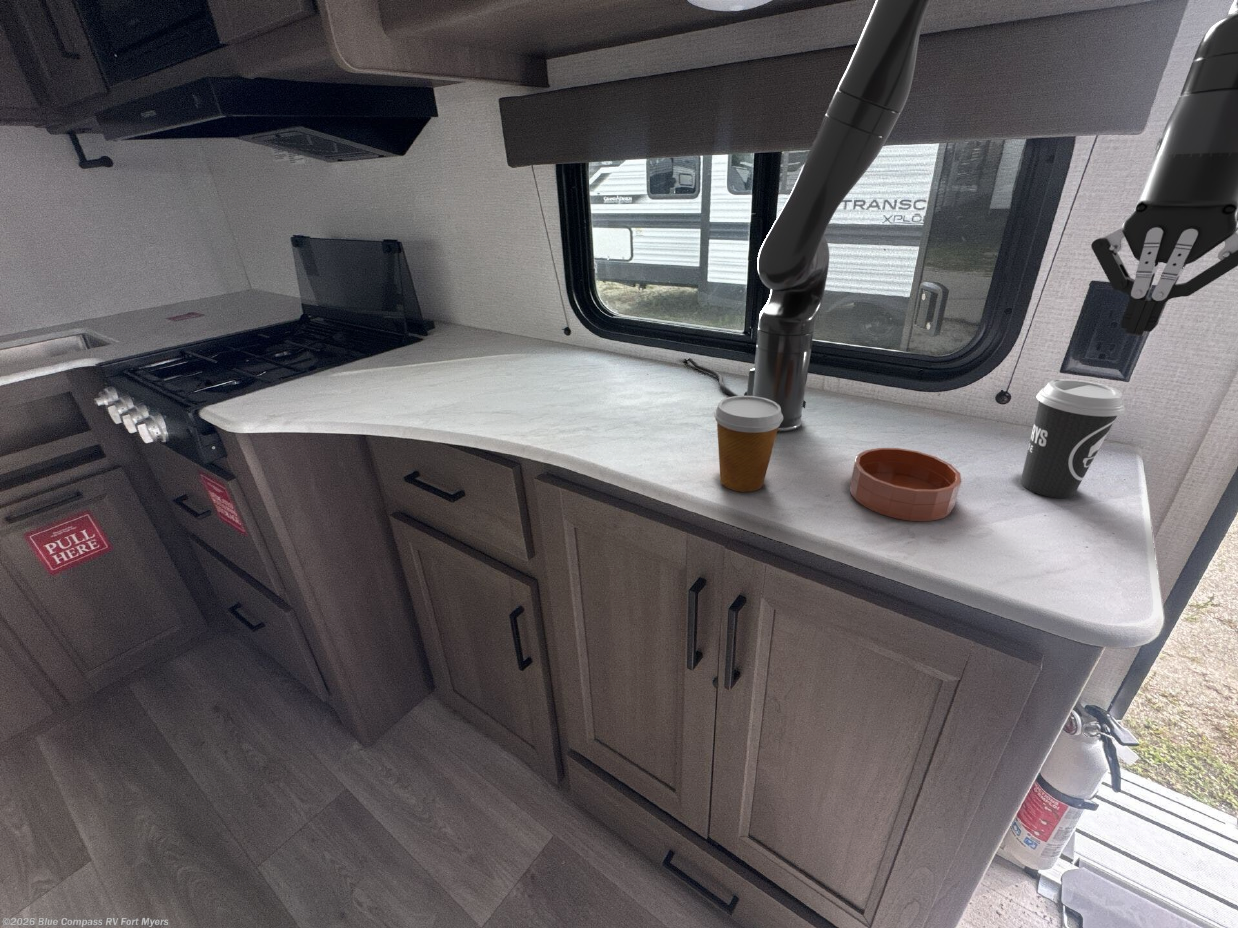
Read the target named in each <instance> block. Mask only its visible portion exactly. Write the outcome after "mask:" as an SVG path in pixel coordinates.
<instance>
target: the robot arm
mask: <svg viewBox="0 0 1238 928" xmlns="http://www.w3.org/2000/svg"><path fill="white" fill-rule="evenodd" d="M930 2H931V0H875V2H874V5H873V8H872V10H871V11H870V14H869V17H868V19H867V21H866V23H865V26H864V28H863V30H862V33H861V35H860V38H859V40H858V42H857V45H856V47H855V50H854V51H853V53H852V56H851V58H850V61H849V63H848V65H847V67H846V70H845V71H844V73H843V76H842V77H841V79H840V81H839V84H838V86H837V88H836V90H835V92H834V94H833V96H832V99H831V101H830V103H829V106H828V107H827V110H826V112H825V114H824V116H823V119H822V121H821V124H820V126H819V129H818V131H817V134H816V135H815V138H814V139H813V142H812V145H811V146H810V149H809V152H808V153H807V156H806V157H805V161H804V163H803V165H802V167H801V170H800V172H799V175H798V177H797V180H796V182H795V184H794V187H793V188H792V191H791V193H790V195H789V197H788V199H787V200H786V202H785V204H784V206H783V207H782V210H781V211H780V213H779V215H778V217H777V218H776V220H775V221H774V223H773V225H772V227H771V229H770V230H769V232H768V234H767V235H766V238H765V239H764V241H763V243H762V245H761V247H760V249H759V252H758V255H757V256H758V257H757V273H758V276H759V279H760V280H761V282H762V284H763V285H764V286H765V287H767V288H768V289H769V290H770V294H769V298H768V300H767V302H766V304H765V305H764V306H763V308H762V310H761V311H760V313H759V317H758V324H757V325H758V326H757V327H758V328H757V336H756V347H755V358H754V367H753V368H752V369H750V370H749V371H748V377H747V378H748V379H747V388H746V389H747V390H746V391H745V392H744V393H743V396H755V397H762V398H766V399H769V400H772V401H774V402H776V403H777V404H778V405H779V406H780V407H781V413H782V415H783V421H782V422H781V424H780V426H779V427H778V431H777V432H790V431H794V430H797V429H798V428H800V427H801V425H802V417H803V409H806V405H807V401H805V394H806V388H807V381H808V374H809V367H810V360H811V353H812V346H813V339H814V333H815V326H816V322H817V319H818V316H819V315H820V312H821V309H822V305H823V300H824V296H825V290H826V284H827V278H828V273H829V266H830V247H829V244H828V241H827V239H826V238H825V236H824V235H825V233H826V230H827V228H828V227H829V224H830V223H831V220H832V218H833V216H834V214H835V213H836V211H837V209H838V208H839V207H840V205H841V204H842V202H843V201H844V199H845V198H846V197H847V196H848V194H849V193H850V192H851V191H852V189H853V188H854V187H855V185H857V183H858V182H859V181H860V179H861V178H862V177H863V176H864V175H865V173H866V172H867V171H868V169H869V168H870V166H871V165H872V164H873V163H874V161H875V160H876V158H877V157H878V155H879V154H880V152H881V150H882V149H883V147H884V146H885V144H886V142H887V140H888V138H889V137H890V135H891V133H892V131H893V129H894V127H895V125H896V124H897V121H898V120H899V118H900V116H901V113H902V112H903V111H904V107H905V106H906V104H907V101H908V99H909V96H910V93H911V90H912V85H913V81H914V75H915V70H916V64H917V63H916V62H917V57H918V56H917V55H918V48H919V42H920V36H921V30H922V27H923V22H924V17H925V14H926V11H927V9H928V6H929V5H930ZM1237 231H1238V0H1233V2H1232V3H1231V6H1230V7H1229V10H1228V11H1227V14H1226V15H1225V17H1223V18H1221V19H1219V20H1217V21H1216V22H1215V23H1214V24H1213V25H1211V26H1210V27H1209V28H1208V29H1207V31H1206V32H1205V34H1204V35H1203V37H1202V38H1201V41H1200V43H1199V45H1198V47H1197V49H1196V51H1195V53H1194V56H1193V59H1192V62H1191V65H1190V67H1189V70H1188V73H1187V75H1186V78H1185V80H1184V83H1183V86H1182V89H1181V91H1180V95H1179V97H1178V99H1177V101H1176V104H1175V106H1174V108H1173V110H1172V112H1171V113H1170V116H1169V117H1168V119H1167V121H1166V124H1165V126H1164V129H1163V131H1162V134H1161V136H1160V138H1159V139H1158V141H1157V143H1156V146H1155V153H1154V155H1153V159H1152V162H1151V164H1150V167H1149V170H1148V171H1147V175H1146V178H1145V179H1144V182H1143V186H1142V187H1141V191H1140V194H1139V197H1138V200H1137V202H1136V205H1135V207H1134V209H1133V211H1132V213H1130V215H1129V216H1128V217H1127V218H1126V219H1125V220H1124V221H1123V223H1122V225H1121V228H1119V229H1117V230H1115V231H1113V232H1112V233H1109V234H1107V235H1105V236H1103V237H1099V238H1096V239H1095V240H1093V241H1092V242H1091V245H1090V248H1091V250H1092V252H1093V253H1094V255H1095V257H1096V259H1097V261H1098V263H1099V265H1100V267H1101V268H1102V270H1103V273H1104V274H1105V277H1106V278H1107V280H1108V282H1109V283H1110V286H1111V288H1112V289H1113V290H1114V291H1120V292H1122V293H1124V294H1127V295H1128V297H1129V300H1128V303H1127V306H1126V309H1125V311H1124V314H1123V316H1122V318H1121V321H1120V328H1121V329H1125V331H1124V334H1125V335H1128V336H1135V337H1144V335H1146V332H1149V333H1151V332H1152V331H1153V330H1154V329H1155V328H1156V327H1157V326H1158V324H1159V322H1160V320H1161V317H1162V315H1163V313H1164V311H1165V307H1166V306H1167V303H1168V301H1170V300H1172V299H1177V298H1182V297H1184V298H1185V297H1189V296H1191V295H1193V294H1194V293H1197V292H1198V291H1199V290H1201V289H1203V288H1205V287H1206V286H1208V285H1209V284H1211V283H1213V282H1214V281H1216V280H1218V279H1219V278H1220V277H1222V276H1224V275H1225V274H1227V273H1229V272H1230V271H1232V270H1234V269H1235V268H1236V267H1238V232H1237ZM1124 239H1125V240H1126V243H1127V245H1128V247H1129V250H1130V251H1131V253H1132V255H1133V258H1134V259H1135V260H1136V261H1138V265H1137V268H1136V270H1135V271H1136V272H1135V278H1132V277H1131V276H1130V273H1129V271H1128V270H1127V268H1126V266H1125V264H1124V262H1123V261H1122V259H1121V257H1120V255H1119V252H1120V251H1122V249H1123V247H1124V244H1123V240H1124ZM1223 242H1224V247H1223V248H1222V249H1221V250H1219V252H1218V254H1217V258H1218V259H1219V261H1217V262H1215V263H1214V264H1212V265H1211V266H1209V267H1208V268H1206V269H1205V270H1203V271H1201V272H1200V273H1199V274H1197V275H1195V276H1194V277H1192V278H1191V279H1189V280H1188V281H1185V282H1181V283H1178V282H1179V279H1180V277H1181V275H1182V274H1183V272H1184V271H1185V269H1186V266H1187V265H1190V264H1192V263H1194V262H1196V261H1198V260H1200V259H1201V258H1202V257H1203V256H1205V255H1206V254H1208V253H1209V252H1211V251H1212V250H1214V249H1215V248H1217V247H1218V246H1220V245H1221V244H1222V243H1223ZM1160 263H1163V264H1166V265H1165V266H1164V268H1163V271H1162V272H1161V274H1160V278H1159V280H1158V282H1157V283H1156V284H1155V287H1154V289H1153V292H1152V294H1151V291H1152V287H1153V284H1154V280H1155V277H1156V274H1157V272H1158V270H1159V266H1160ZM1150 294H1151V297H1149V296H1150ZM687 362H689V363H690V364H691V365H692V366H694V367H695V368H696V369H698V370H700V371H703V372H705V373H708V374H711V375H712V376H714V377H716V378H717V379H718V384H719V387H720V389H721V390H722V391H724V393H726V394H727V395H729V397H733V396H739V395H738V394H737V393H735V392H733V391H732V390H731V389H730V388H729V387H727V386H726V385H725V384H724V377H723V376H722V375H721V373H719V372H717V371H716V370H714V369H711V368H708V367H706V366H703V365H701V364H699V363H697V362H696V361H695V360H694V359H693V358H691V357H690V358H689V359H688V360H686V359H685V358H684V359H683V360H682V363H687Z"/></svg>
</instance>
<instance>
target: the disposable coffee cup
mask: <svg viewBox="0 0 1238 928" xmlns="http://www.w3.org/2000/svg"><path fill="white" fill-rule="evenodd" d="M713 415H714V418H715V421H716V427H717V428H716V430H717V446H718V462H719V463H718V464H719V482H720V484H721V485H722V486H724V487H725V488H727V489H729V490H732V491H735V492H743V493H744V492H748V493H749V492H755V491H757V490H759V489H761V488H762V487H763V486H764V483H765V479H766V475H767V472H768V468H769V464H770V460H771V457H772V453H773V450H774V445H775V442H776V438H777V434H778V432H779V431H778V427H779V426H780V424H781V422H782V421H783V415H782V413H781V407H780V406H779V405H778V404H777V403H776V402H774V401H772V400H769V399H766V398H762V397H755V396H744V395H738V396H733V397H731V396H729V397H725V398H723V399H721V400H719V402H718V404H717V407H716V408H715V409H714V411H713Z"/></svg>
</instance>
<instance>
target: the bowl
mask: <svg viewBox="0 0 1238 928" xmlns="http://www.w3.org/2000/svg"><path fill="white" fill-rule="evenodd" d="M961 476H962V475H961V472H959V470H958V469H956V468H955V467H954V465H952V464H951V463H949V462H947V461H945V460H943V459H941V458H939V457H937V456H935V455H931V454H928V453H925V452H922V451H917V450H912V449H906V448H900V447H876V448H871V449H865V450H863V451H862V452H860V453H859V454H857V455H856V456H855V460H854V463H853V470H852V474H851V479H850V484H849V491H850V494H851V495H852V497H853V499H854V500H855V501H857V502H858V503H859V504H860V505H861V506H863V507H865V508H866V509H868V510H871V511H872V512H875V513H877V514H880V515H882V516H885V517H889V518H893V519H896V520H897V519H898V520H903V521H909V522H910V521H911V522H931V521H937V520H941V519H943V518H946V517H947V516H949V515H950V514H951V512H952V511H953V508H955V504H956V501H957V498H958V494H959V491H960V487H961V484H962V477H961Z"/></svg>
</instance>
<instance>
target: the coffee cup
mask: <svg viewBox="0 0 1238 928" xmlns="http://www.w3.org/2000/svg"><path fill="white" fill-rule="evenodd" d="M1035 397H1036V400H1037V401H1038V403H1037V409H1036V413H1035V417H1034V422H1033V426H1032V430H1031V431H1032V432H1031V434H1030V439H1029V443H1028V448H1027V452H1026V456H1025V460H1024V464H1023V470H1022V473H1021V478H1020V484H1021V485H1022V486H1023V487H1024V488H1025V489H1027V490H1028V491H1031V492H1032V493H1035V494H1038V495H1041V496H1045V497H1049V498H1055V499H1068V498H1072V497H1074V496H1075V494H1076V493H1077V490H1078V489H1079V487H1080V485H1081V483H1082V482H1083V479H1084V477H1085V476H1086V474H1087V472H1088V470H1089V468H1090V467H1091V465H1092V463H1093V461H1094V459H1095V458H1096V455H1097V454H1098V452H1099V450H1100V448H1101V446H1102V445H1103V443H1104V440H1105V439H1106V437H1107V435H1108V433H1109V432H1110V430H1111V429H1112V427H1113V425H1114V423H1115V421H1116V420H1117V417H1118V416H1121V415H1123V414H1124V413H1125V408H1126V406H1125V402H1124V400H1123V393H1122V392H1121V391H1120V390H1119V389H1117V388H1115V387H1112V386H1110V385H1106V384H1102V383H1098V382H1094V381H1089V380H1082V379H1071V378H1059V379H1058V378H1057V379H1052V380H1050V381H1049V382H1048V383H1047V384H1046V385H1045V386H1044V387H1042V388H1041V389H1040V390H1039V391H1038V393H1037V394H1036V396H1035Z"/></svg>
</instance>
